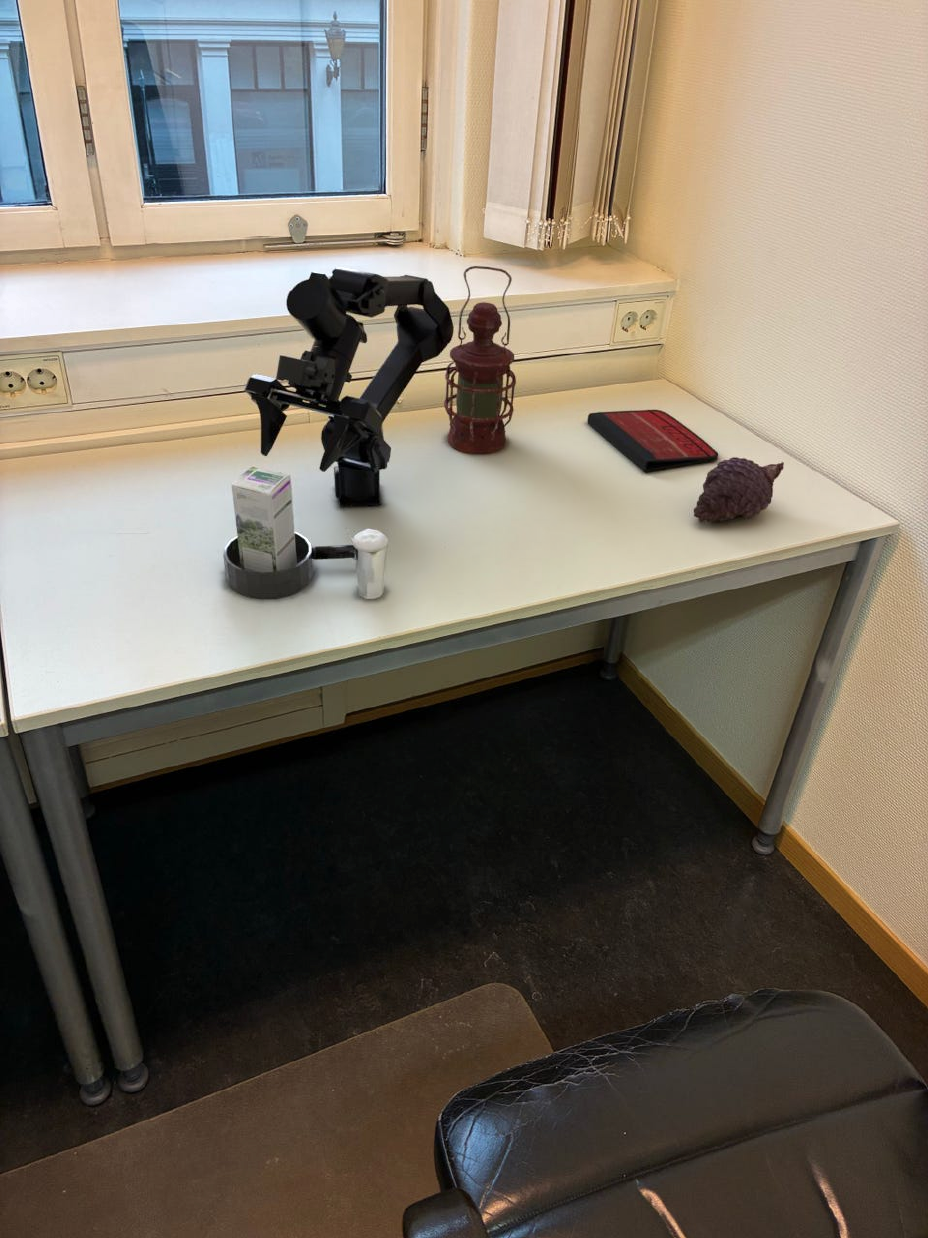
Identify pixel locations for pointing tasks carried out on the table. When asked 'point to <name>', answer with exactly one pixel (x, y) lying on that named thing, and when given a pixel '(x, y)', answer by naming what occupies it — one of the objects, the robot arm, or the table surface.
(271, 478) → the syrup box
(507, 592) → the table surface
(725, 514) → the pine cone
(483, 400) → the lantern
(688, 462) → the binder
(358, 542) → the milkshake
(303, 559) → the pan
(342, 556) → the pan handle
